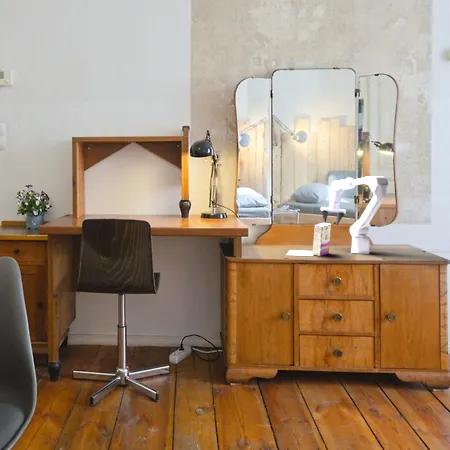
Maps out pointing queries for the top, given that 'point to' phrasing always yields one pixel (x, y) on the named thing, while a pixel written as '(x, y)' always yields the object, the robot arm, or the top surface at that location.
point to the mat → (300, 253)
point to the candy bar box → (321, 239)
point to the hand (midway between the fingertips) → (330, 223)
